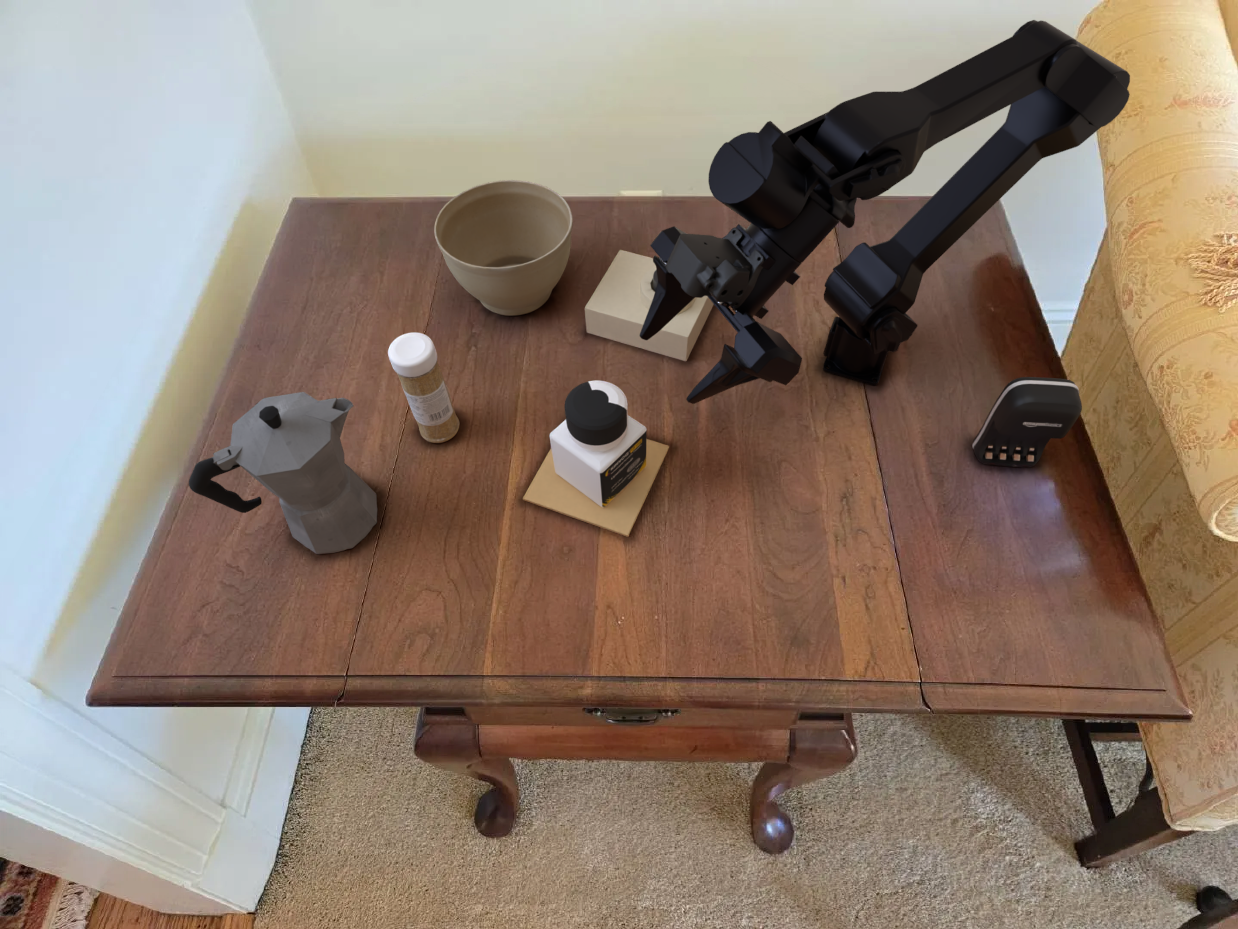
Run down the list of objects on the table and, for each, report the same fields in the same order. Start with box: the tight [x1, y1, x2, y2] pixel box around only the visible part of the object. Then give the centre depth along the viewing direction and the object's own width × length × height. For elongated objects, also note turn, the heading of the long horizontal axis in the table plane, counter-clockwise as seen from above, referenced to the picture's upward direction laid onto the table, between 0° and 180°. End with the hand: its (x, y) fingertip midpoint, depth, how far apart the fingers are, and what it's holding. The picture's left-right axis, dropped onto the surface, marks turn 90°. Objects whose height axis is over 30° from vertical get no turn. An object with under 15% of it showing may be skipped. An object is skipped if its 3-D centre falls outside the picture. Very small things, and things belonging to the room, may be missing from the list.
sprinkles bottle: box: [387, 331, 460, 444], centre depth 82 cm, size 5×5×13 cm
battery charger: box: [971, 376, 1083, 468], centre depth 79 cm, size 7×4×11 cm, turn 84°
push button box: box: [584, 249, 715, 362], centre depth 94 cm, size 13×11×6 cm
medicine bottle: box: [549, 379, 648, 508], centre depth 78 cm, size 7×7×12 cm
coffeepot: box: [188, 391, 378, 555], centre depth 74 cm, size 15×9×18 cm, turn 123°
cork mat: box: [522, 438, 670, 538], centre depth 83 cm, size 12×12×1 cm
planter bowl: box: [433, 179, 574, 317], centre depth 95 cm, size 16×16×11 cm
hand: (665, 369), depth 75 cm, fingers open, 9 cm apart
